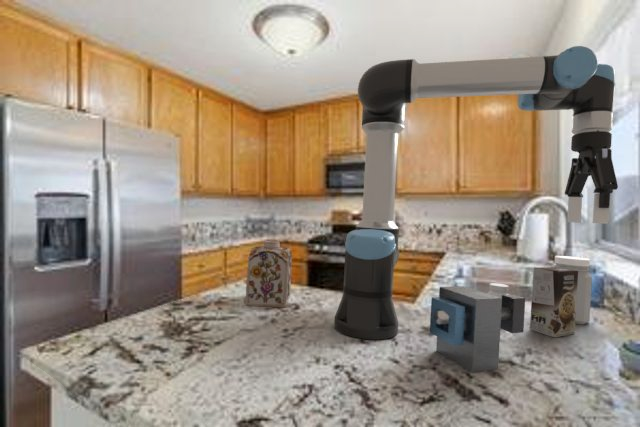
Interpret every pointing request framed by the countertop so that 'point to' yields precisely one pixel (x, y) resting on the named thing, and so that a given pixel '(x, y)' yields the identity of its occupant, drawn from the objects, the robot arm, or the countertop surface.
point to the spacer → (455, 321)
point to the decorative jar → (269, 275)
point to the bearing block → (474, 329)
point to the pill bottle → (498, 289)
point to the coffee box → (554, 301)
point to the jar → (579, 284)
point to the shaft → (509, 314)
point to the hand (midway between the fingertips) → (586, 223)
